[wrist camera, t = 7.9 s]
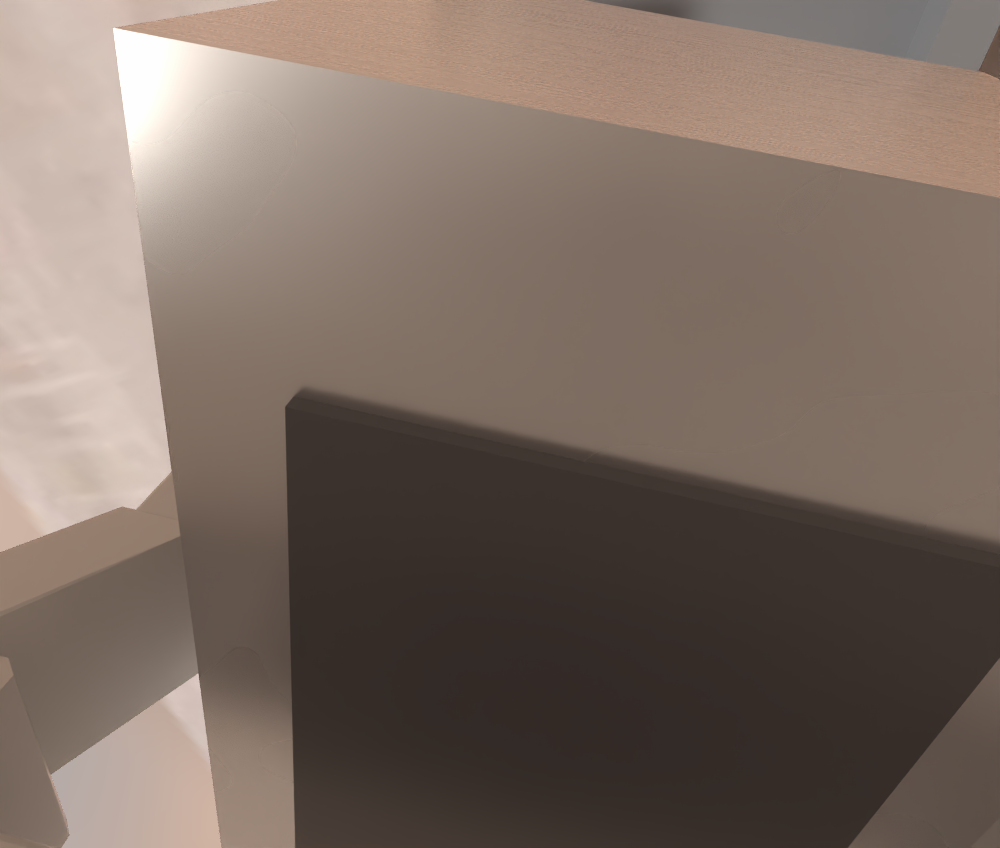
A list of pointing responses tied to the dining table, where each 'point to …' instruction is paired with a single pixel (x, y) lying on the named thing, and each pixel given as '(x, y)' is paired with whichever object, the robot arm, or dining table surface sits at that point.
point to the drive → (576, 424)
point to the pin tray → (856, 23)
